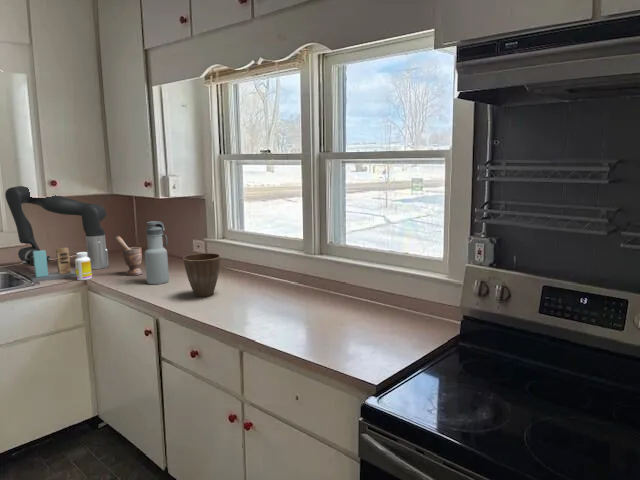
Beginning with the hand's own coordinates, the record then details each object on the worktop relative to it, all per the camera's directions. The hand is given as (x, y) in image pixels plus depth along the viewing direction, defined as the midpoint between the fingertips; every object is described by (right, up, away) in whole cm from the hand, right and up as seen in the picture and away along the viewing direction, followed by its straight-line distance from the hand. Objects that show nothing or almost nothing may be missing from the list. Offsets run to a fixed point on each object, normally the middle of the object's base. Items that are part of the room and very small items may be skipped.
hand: (39, 262), depth 248 cm
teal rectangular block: (+3, -6, -2) cm, 7 cm away
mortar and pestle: (+44, -6, +3) cm, 44 cm away
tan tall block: (+10, -5, +4) cm, 12 cm away
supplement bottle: (+24, -8, -4) cm, 25 cm away
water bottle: (+62, -9, -14) cm, 64 cm away
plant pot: (+89, -12, -37) cm, 97 cm away
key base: (+6, -7, +1) cm, 10 cm away
